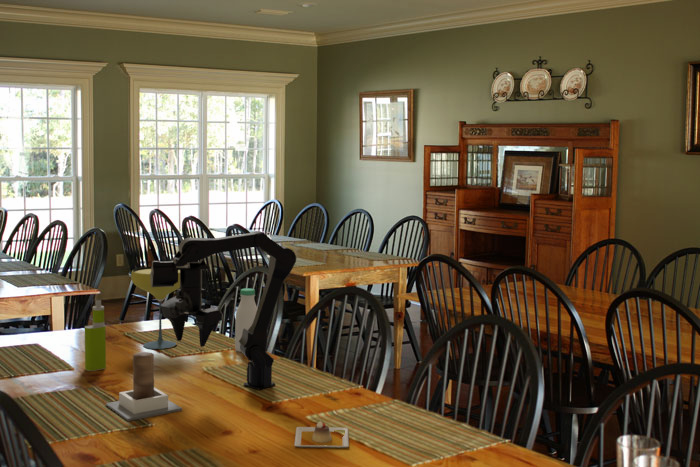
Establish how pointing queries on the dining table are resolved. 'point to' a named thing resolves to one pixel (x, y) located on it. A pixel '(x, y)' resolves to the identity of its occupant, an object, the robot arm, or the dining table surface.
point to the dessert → (320, 435)
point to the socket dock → (142, 405)
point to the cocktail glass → (144, 282)
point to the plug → (143, 375)
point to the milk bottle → (244, 314)
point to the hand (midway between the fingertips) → (190, 343)
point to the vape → (96, 340)
